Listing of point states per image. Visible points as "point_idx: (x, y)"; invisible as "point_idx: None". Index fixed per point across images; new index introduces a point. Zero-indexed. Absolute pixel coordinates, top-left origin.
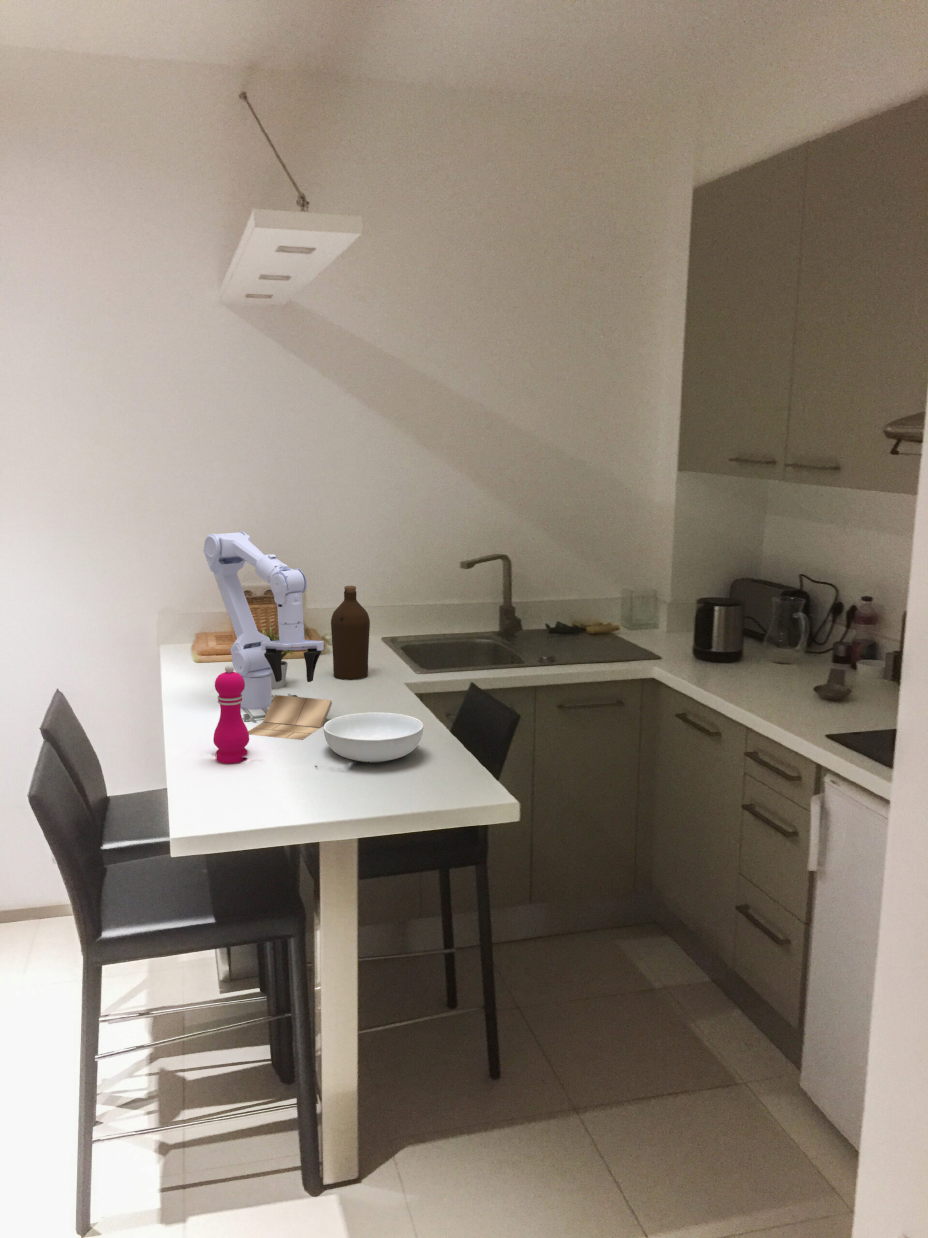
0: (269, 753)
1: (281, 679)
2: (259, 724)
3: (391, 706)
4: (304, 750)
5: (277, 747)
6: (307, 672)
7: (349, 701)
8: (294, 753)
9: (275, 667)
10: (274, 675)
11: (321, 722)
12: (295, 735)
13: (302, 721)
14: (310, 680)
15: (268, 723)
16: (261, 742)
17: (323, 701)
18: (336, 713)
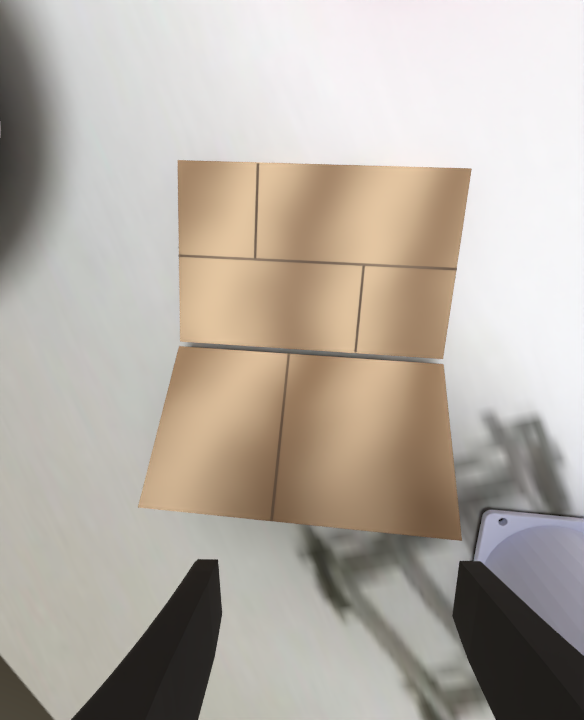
0: (275, 7)
1: (455, 618)
2: (446, 328)
3: (91, 673)
4: (153, 102)
5: (275, 107)
6: (176, 630)
7: (240, 704)
8: (174, 46)
9: (572, 695)
10: (524, 603)
11: (173, 368)
12: (232, 212)
13: (260, 372)
14: (190, 574)
15: (411, 352)
16: (367, 156)
17: (177, 496)
18: (228, 578)
